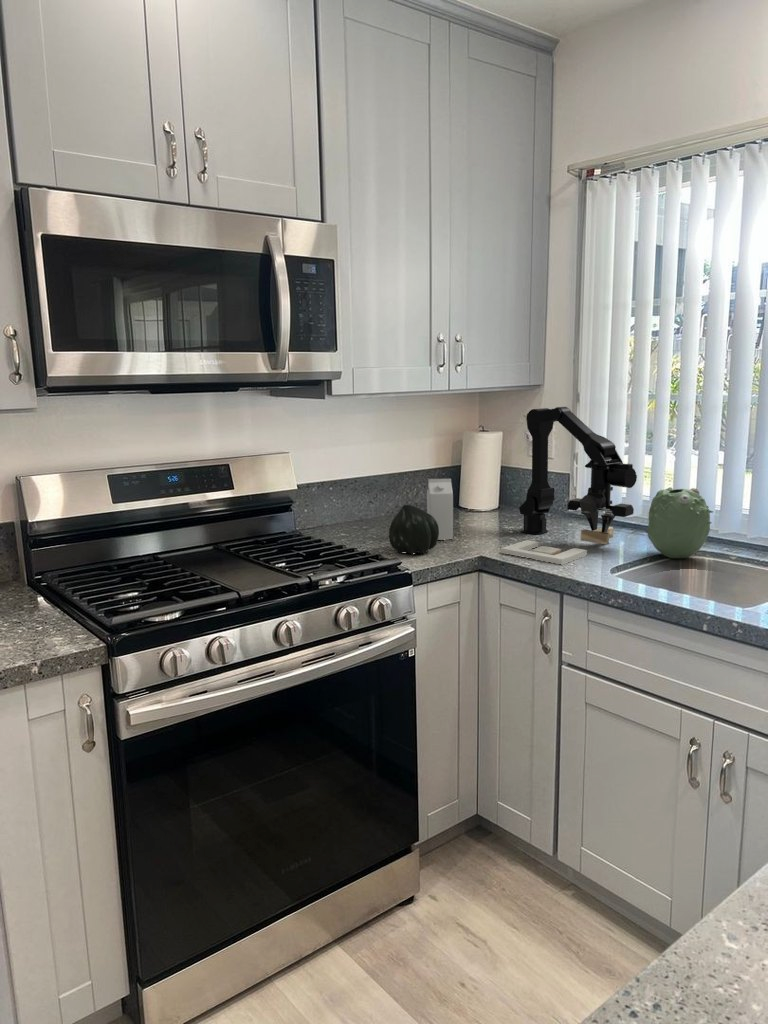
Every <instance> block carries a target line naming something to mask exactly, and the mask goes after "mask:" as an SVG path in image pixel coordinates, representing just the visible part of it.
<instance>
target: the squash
mask: <svg viewBox="0 0 768 1024" xmlns="http://www.w3.org/2000/svg"><path fill="white" fill-rule="evenodd" d="M438 536H439V527H438V524H437V522H436V520H435V519H434V517H432V516H431V515H430V514H428V513H427V511H425V510H423V509H421V508H419V507H416V506H414V505H411V504H403V506H401V507H400V509H399V511H398V512H397V514H395V516H394V517H393V519H392V521H391V523H390V526H389V530H388V541H389V544H390V546H391V547H392V548H393V549H394V550H395V549H396V550H395V551H397V552H399V553H400V552H408V553H407V554H409V553H411V554H410V555H412V554H413V553H416V554H420V553H424V554H426V553H428V551H430V550H433V549H434V548H435V547H436V546H437V543H438V541H437V540H438ZM418 552H419V553H418Z"/></svg>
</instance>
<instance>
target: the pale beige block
mask: <svg viewBox="0 0 768 1024" xmlns="http://www.w3.org/2000/svg"><path fill="white" fill-rule="evenodd" d="M531 551H533V552H538V553H544V554H549V555H556V554H559V553H562V549H561V548H556V547H551V546H545V545H542V546H538V547H537V548H535V549H532V550H531Z"/></svg>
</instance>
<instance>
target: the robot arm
mask: <svg viewBox="0 0 768 1024" xmlns="http://www.w3.org/2000/svg"><path fill="white" fill-rule="evenodd" d="M555 422H558V423H559V424H560V425H561V426H562V427H563V428H564V429H566V431H567V432H569V433H570V434H571V435H572V436H573V437H574V438H575V439H576V440H577V441H578V442H579V443H580V444H581V445H582V447H583V451H584V453H585V454H586V455H587V457H588V458H589V462H588V463H586V464H585V465H584V467H585V468H587V469H591V470H590V487H588V488H587V493H586V495H584V496H583V497H582V498H580V497H579V498H573V499H570V500H569V501H568V502H567V506H566V507H567V510H568V511H575V512H576V511H578V510H579V509H580V510H581V512H580V514H581V515H583V516H585V518H586V519H587V522H588V523H589V526H590V527H589V528H590V530H592V531H593V530H596V529H598V521H599V512H601V511H603V512H604V514H601V515H600V516H601V519H602V520H601V521H602V523H601V528H602V532H605V533H606V532H607V530H608V528H609V527H611V524H612V523H613V521H614V519H615V517H622V518H626V517H628V516H632V515H634V507H633V505H632V504H628V503H627V504H626V503H618V504H614V505H613V500H611V494H612V493H611V491H613V489H614V487H619V488H621V487H622V488H627V489H631V488H633V487H634V486H635V484H636V482H637V480H638V479H637V478H638V475H637V472H636V470H635V468H633V466H634V465H633V463H623V462H624V461H622V459H621V455H620V454H619V453H618V451H617V449H616V444H615V443H614V442H613V441H611V440H610V439H608V438H606V437H605V436H602V435H599V434H597V433H595V432H594V431H593V430H592V429H591V428H589V426H587V424H585V423H584V422H583V421H582V420H581V419H580V418H579V417H578V416H576V415H575V414H574V413H573V411H572V410H571V409H570V408H569V407H568V406H556V407H555V408H549V407H548V408H547V407H545V408H544V407H543V408H533V409H530V410H529V411H528V412H527V413H526V425H527V430H528V432H529V433H530V436H531V439H532V440H531V483H530V484H529V487H528V489H527V491H526V498H525V499H526V500H525V501H524V502H523V503H522V504H521V505H520V506H519V508H518V510H519V514H520V515H523V527H522V528H523V529H522V530H520V533H523V534H530V535H535V536H537V535H538V536H539V535H541V534H545V533H548V531H549V530H548V529H547V521H548V520H547V518H546V514H548V513H549V512H550V509H551V507H552V506H553V505H554V501H556V498H555V492H556V491H555V487H551V486H550V484H549V482H548V481H549V479H548V478H549V466H548V465H549V436H550V434H551V433H552V431H553V428H554V423H555ZM613 486H614V487H613Z"/></svg>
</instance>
